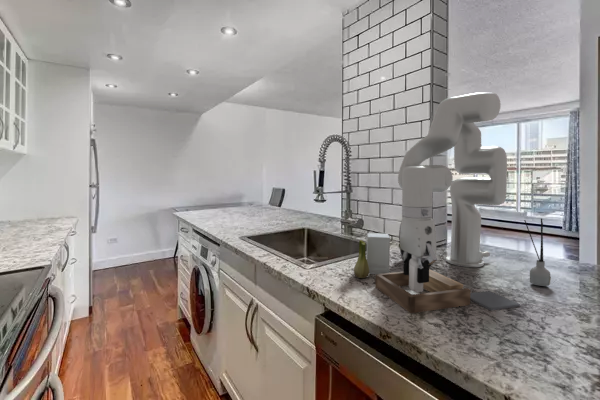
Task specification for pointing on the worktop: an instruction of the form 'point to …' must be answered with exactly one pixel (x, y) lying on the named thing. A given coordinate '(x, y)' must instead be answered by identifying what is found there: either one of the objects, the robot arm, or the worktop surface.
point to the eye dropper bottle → (414, 275)
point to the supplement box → (378, 253)
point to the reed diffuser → (539, 266)
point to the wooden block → (440, 283)
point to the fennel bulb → (361, 262)
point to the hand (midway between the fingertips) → (415, 277)
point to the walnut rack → (419, 302)
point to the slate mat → (492, 300)
